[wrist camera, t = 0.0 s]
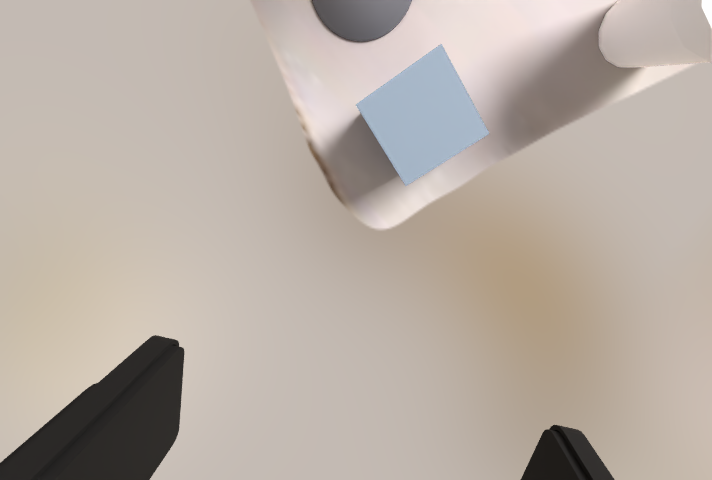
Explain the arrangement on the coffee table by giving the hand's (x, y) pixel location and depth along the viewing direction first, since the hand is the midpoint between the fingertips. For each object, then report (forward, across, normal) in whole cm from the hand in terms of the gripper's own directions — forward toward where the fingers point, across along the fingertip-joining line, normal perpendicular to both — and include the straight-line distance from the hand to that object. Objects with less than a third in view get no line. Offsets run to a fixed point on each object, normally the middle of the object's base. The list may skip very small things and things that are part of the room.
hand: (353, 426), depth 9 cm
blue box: (+31, -2, -9) cm, 33 cm away
